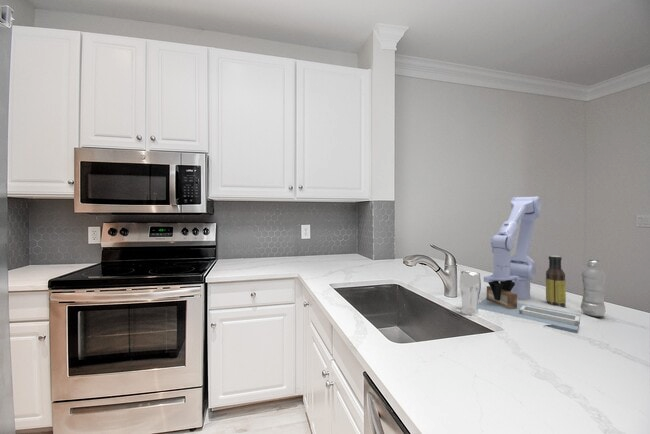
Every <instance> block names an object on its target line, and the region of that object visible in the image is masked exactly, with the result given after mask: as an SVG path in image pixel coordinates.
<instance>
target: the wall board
mask: <svg viewBox="0 0 650 434" xmlns="http://www.w3.org/2000/svg"><path fill="white" fill-rule="evenodd" d="M479 309H480V310H484V311H488V312H492V313H496V314H501V315H502V314H503V315H506V316H511V317H516V318H521V319H524V320H530V321H535V322H538V323H544V324H545V325H542V326H543V327H548V328H552V329H557V330H562V331H567V332H571V333H575V334H578V333H579V328H580V319H581V316H582V315H581V314H580V313H579V314H578V313H573V312H568V311H563V310H557V309H553V308H547V307H542V306H537V305H532V304H527V303H526V304H525V303H519V302H517V309H509V308H506V307H504V306H501V305H499V304H496V303H494V302H492V301H489V300H487V299H486V297H484V299H482V300H480V302H478V310H479Z"/></svg>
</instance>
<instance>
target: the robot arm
mask: <svg viewBox="0 0 650 434" xmlns="http://www.w3.org/2000/svg"><path fill="white" fill-rule="evenodd" d="M542 206H543V203H542V200H541V198H540V197H539V196H537V195H536V196H514V197H512V199H511V200H510V210H511V211H510V213H509V216H508V219H507V220H505V221H503V222H502V225H500V227H499V230H498V232H497V233H496V234H495V235H493V236H492V237H491V238H490V248H491V252H492V255H493V256H492V257H493V259H492V260H493V261H492V262H493V266H492V275H487V276H483V282H484V283H487V284H488V286H490V287H491V289H492V292H493V295H494V299H495V300H498V301H500V296H501V289H504V290H506V291H509V292H512V293H515V294H517V300H521V301H523V300H524V301H528V300H531V281H532V280H533V279H534V278H535V277H536V273H537V271H536V266H537V265H536V261H534V260H533V259H532V258H531V257H530V252H531V246H532V241H533V235H534V228H535V223H536V219H538V218H540V217H541V212H542ZM519 222H520V225H518V224H519ZM517 232H518V235H517ZM516 235H517V236H518V237H517V242H516V246H515V254H513V255H511V251H512V249H513V248H514V245H515V240H516V239H515V236H516Z"/></svg>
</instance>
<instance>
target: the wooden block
mask: <svg viewBox="0 0 650 434" xmlns="http://www.w3.org/2000/svg"><path fill="white" fill-rule="evenodd" d="M485 298H486V299H487V300H489V301H492V302H494V303H496V304H499V305H501V306H504V307H506V308H509V309H517V303H518V299H517V294H515V293H512V292H509V291H506V290H504V289H501V296H500V301H498V300H495V299H494V295H493V292H492V289H491V287H490V285H486V297H485Z"/></svg>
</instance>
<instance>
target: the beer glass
mask: <svg viewBox="0 0 650 434" xmlns="http://www.w3.org/2000/svg"><path fill="white" fill-rule="evenodd" d="M481 283H482V281H481V273H480V272H477V271H470V270H463V271H460V274H459V293H460V297H461V308H460V313H461V314H462V315H466V316H470V317H472V316H473V315H472V314H479V309H478V304H479V300H480V293H481V287H482V285H481Z"/></svg>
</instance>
